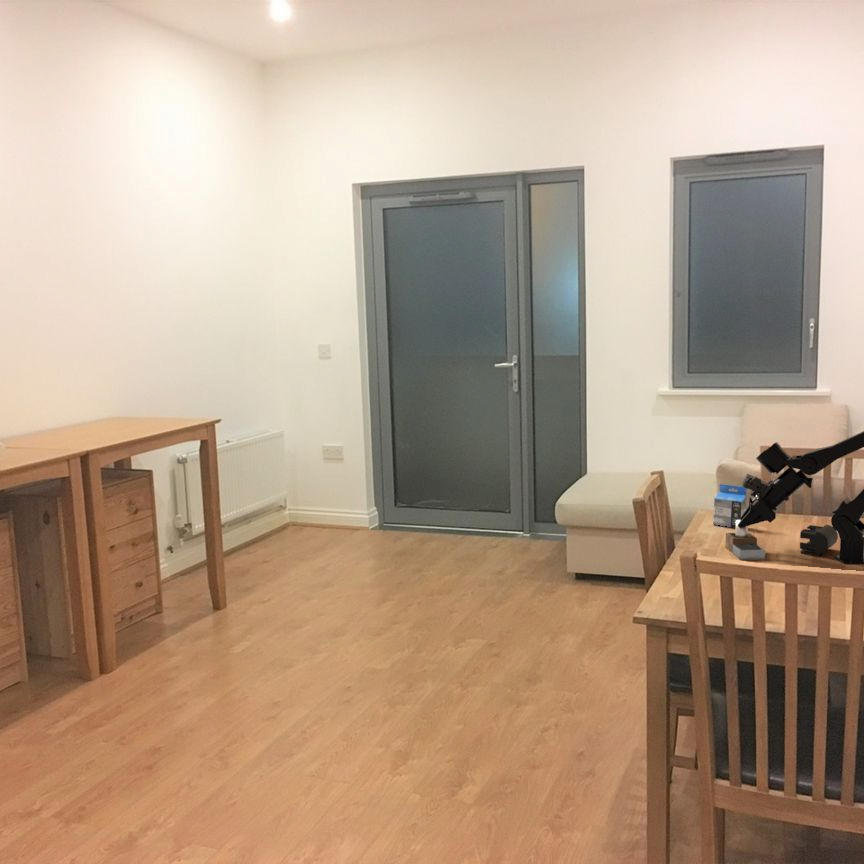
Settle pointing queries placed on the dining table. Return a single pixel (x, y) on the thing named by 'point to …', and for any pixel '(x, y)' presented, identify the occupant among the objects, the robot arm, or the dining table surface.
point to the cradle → (748, 551)
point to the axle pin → (740, 530)
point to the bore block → (738, 540)
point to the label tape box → (729, 505)
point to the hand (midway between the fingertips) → (738, 525)
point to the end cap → (818, 539)
